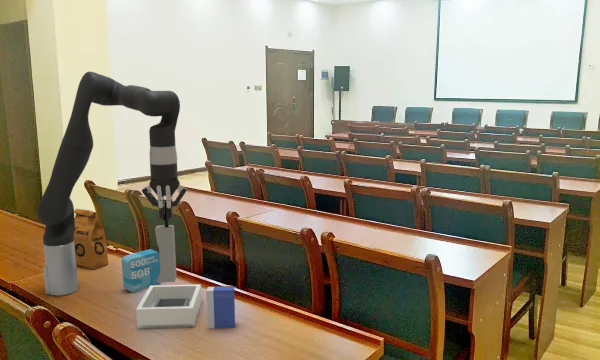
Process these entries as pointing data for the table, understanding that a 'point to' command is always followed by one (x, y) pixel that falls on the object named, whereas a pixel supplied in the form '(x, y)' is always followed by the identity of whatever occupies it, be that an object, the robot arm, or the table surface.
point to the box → (169, 306)
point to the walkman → (220, 307)
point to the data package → (140, 270)
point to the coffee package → (89, 240)
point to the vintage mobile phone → (166, 250)
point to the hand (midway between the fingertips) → (166, 219)
